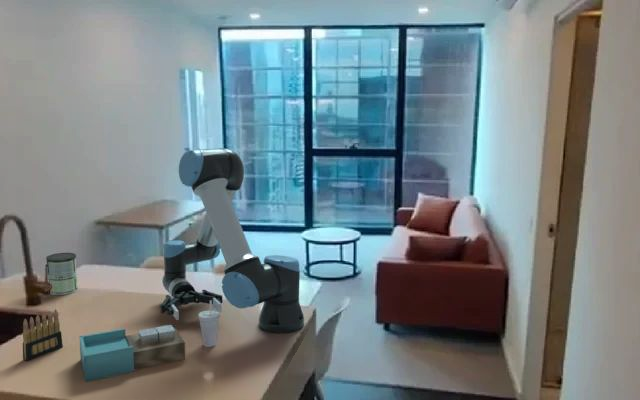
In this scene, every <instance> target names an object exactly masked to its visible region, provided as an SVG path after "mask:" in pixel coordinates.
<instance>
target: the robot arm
mask: <svg viewBox="0 0 640 400" xmlns="http://www.w3.org/2000/svg"><path fill="white" fill-rule="evenodd" d="M178 164H179V165H178V177H179V180H180V182H181V184H182V185H184V186H186V187H188V188H189V187H191V189H192V192H193V194H194V195H195V196H197V197H200V199H201V202H202V205H203V207H204V210H205V214H204V218H203V221H202V225H201V227H200V230H199V234H198V236H197V239H196V241H195V242H193V243H192V242H191V243H187V244H186V243H185V241H184V240H177V239H176V240H169V241H166V242H165V243H164V246H163V263H164V264H163V265H164V275H163V276H162V278H161V279H162V286H163V287H164V289H165V290H166V292H168V293H169V294H167V295H165V299H164V300H163V301H162V303H161V304H160V313H161V314H165V312H166V314H167V316H170V315H172V316H173V317H174V319H175V320H176V321H178V320H179V319H180V316H179V315H180V311H179V310H178V308H179V307H182V306H187V305H189V304H192V303H193V304H201V303H203V304H208V305H210V300H212V307H213V308H214V309H215V311H218V312H219V313H222V304H223V296H224V297H225V299H226V300H227V301H228V303H229V304H230V305H231V306H234V307H235V308H237V309H246V308H252V307H255V306H256V305H259V304H261V303H263V304H262V308H261V310H260V313H259V317H258V327H259V328H260V329H262V330H264V331H267V332H270V333H277V334H284V333H293V332H296V331H298V330H300V329H302V328H303V327H304V325H305V317H304V313H303V311H302V307H301V304H300V276H301V275H300V273H301V269H300V262H299V260H298V259H297V258H295V257H291V256H287V255H279V254H278V255H277V254H274V255H272V254H271V255H266V256H265V257H264V258H263V263H262V261H261V259H260V256H258V255H257V254H256V255H255V254H253V252H252V250H251V248H250V245H249V243H248V240H247V238H246V235H245V233H244V231H243V227H242V225H241V222H240V221H239V218H238V216H237V215H238V214H237V213H236V211H235V210H236V209H235V208H234V206H233V201H234V198H235V195H236V192H237V191H239V190H240V189H241V187H242V185H243V182H244V177H245V167H244V163H243V161H242V159H241V157H240V156H239V155H238V153H236V152H235V151H234V150H232V149H230V148H225V147H222V148H203V149H202V148H201V149H200V148H196V149H190V150H189V149H188V150H187V151H185V152H184V153H183V154H182V156H181V157H180V160H179V163H178ZM220 253H221V254H222V256H223V260H224V261H225V266H224V267H225V268H224V269H223V273H224V275H223V278H222V280H221V284H222V285H221V288H222V293H223V295H221V294H217V293H214V292H212V291H207V289H202V290H201V292H198V291H196V289H195V287H194V286H193V285H192V283H190V282H189V281H188V280H187V275H186V272H187V271H186V270H187V269H186V268H187V266H188V265H193V264H196V263H201V262H207V261H211V260H213V259H216V258H218V257H219V256H220V255H221V254H220Z"/></svg>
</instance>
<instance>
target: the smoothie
mask: <svg viewBox="0 0 640 400" xmlns="http://www.w3.org/2000/svg"><path fill="white" fill-rule="evenodd" d="M197 316H198V320H199V324H200V331H201V336H202V344H203V346H204V347H206V348H211V347H212V348H213V347H215V346H216V345H217V336H218V329H219V320H220V318H221V312H218V311H217V310H213V304H212V300H210V304H209V309H208V310H203V311H201V312H199V313H198V315H197Z"/></svg>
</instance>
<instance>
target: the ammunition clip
mask: <svg viewBox="0 0 640 400" xmlns="http://www.w3.org/2000/svg"><path fill="white" fill-rule="evenodd" d="M59 319H60V318H59V313H58V311H57V309H56V308H55V309H54V311H53V315H52V312H51V311H50V310H49V311H48V315H47V317H46V314H45V312H42V315H41V318H40V316H39V315H38V314H36V317H35V321H34V318H33V316H30V318H29V323H28V321H27V319H26V318H24V319H23V325H22V330H23V332H22V339H23V340H22V360H23V361H25V362H29V361H31V360H34V359H37V358H40V357H42V356H44V355H47V354H50V353H52V352H55V351H57V350H60V349H62V348H63V347H64V345H63V335H62V331H61V325H60V324H61V323H60V320H59Z"/></svg>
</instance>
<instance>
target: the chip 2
mask: <svg viewBox="0 0 640 400" xmlns="http://www.w3.org/2000/svg"><path fill="white" fill-rule="evenodd" d="M173 327H174V326H173V325H172V324H166V325H161V326H156V327H155V329H156V331H157V332H158V340H159V341H165V340H170V339H175V329H176V328H175V329H174V328H173Z"/></svg>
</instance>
